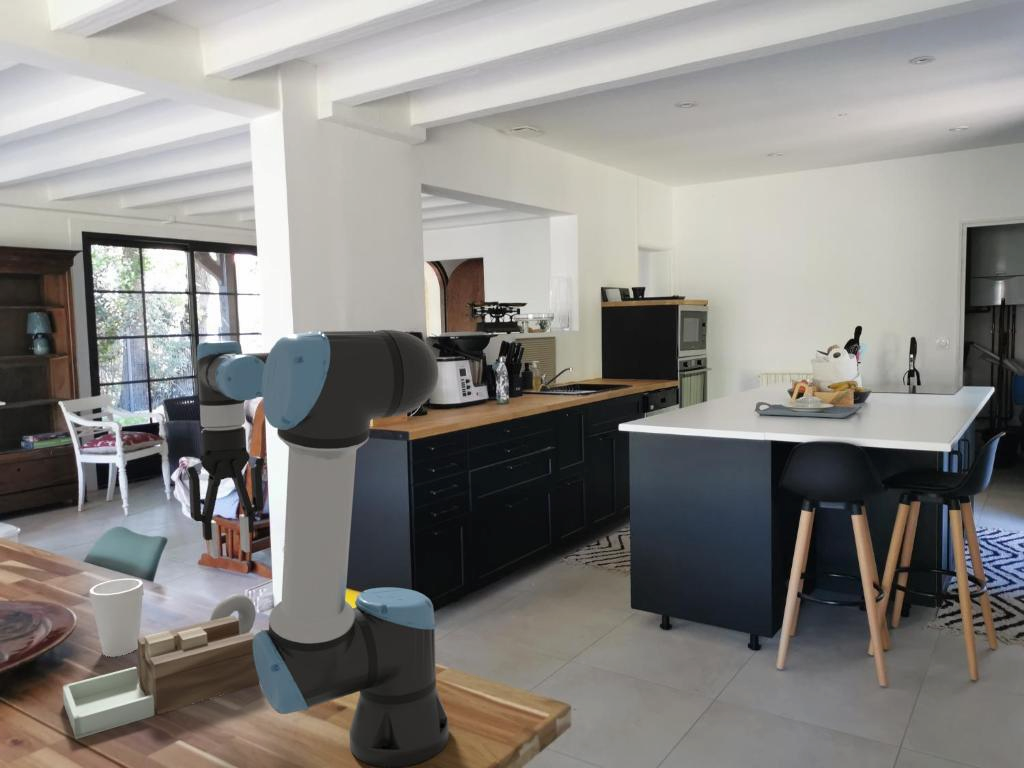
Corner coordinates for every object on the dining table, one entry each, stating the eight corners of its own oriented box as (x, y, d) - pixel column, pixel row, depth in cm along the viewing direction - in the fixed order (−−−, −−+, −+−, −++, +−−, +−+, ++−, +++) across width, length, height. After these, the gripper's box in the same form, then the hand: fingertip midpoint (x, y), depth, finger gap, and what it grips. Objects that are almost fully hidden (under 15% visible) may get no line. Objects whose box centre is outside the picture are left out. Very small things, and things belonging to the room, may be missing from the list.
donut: (218, 654, 152) (215, 604, 151) (207, 649, 154) (204, 601, 153) (260, 635, 160) (258, 588, 159) (249, 632, 162) (247, 585, 161)
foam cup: (156, 640, 158) (152, 579, 157) (129, 661, 149) (125, 595, 148) (112, 639, 159) (108, 578, 158) (83, 659, 150) (78, 594, 149)
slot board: (259, 684, 139) (257, 638, 138) (157, 714, 129) (154, 665, 128) (235, 657, 150) (233, 614, 149) (139, 683, 140) (137, 637, 139)
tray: (154, 715, 128) (153, 696, 128) (75, 739, 122) (74, 719, 121) (136, 684, 140) (135, 666, 139) (63, 704, 133) (62, 685, 133)
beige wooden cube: (208, 655, 137) (206, 633, 137) (184, 662, 135) (183, 639, 134) (201, 648, 140) (200, 626, 140) (178, 654, 138) (177, 632, 138)
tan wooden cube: (175, 659, 136) (174, 637, 135) (150, 666, 133) (149, 643, 133) (169, 652, 139) (168, 630, 139) (145, 658, 137) (144, 636, 136)
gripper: (265, 420, 147) (271, 539, 150) (164, 429, 137) (172, 558, 139) (279, 424, 141) (285, 548, 144) (175, 434, 131) (183, 569, 133)
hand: (229, 553), depth 141 cm, fingers open, 5 cm apart
